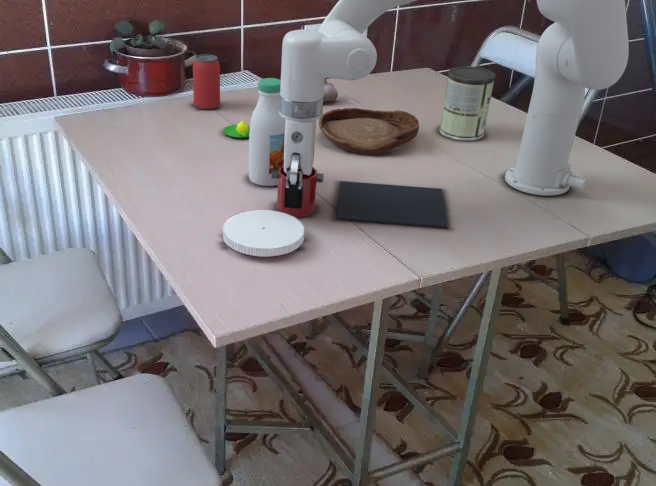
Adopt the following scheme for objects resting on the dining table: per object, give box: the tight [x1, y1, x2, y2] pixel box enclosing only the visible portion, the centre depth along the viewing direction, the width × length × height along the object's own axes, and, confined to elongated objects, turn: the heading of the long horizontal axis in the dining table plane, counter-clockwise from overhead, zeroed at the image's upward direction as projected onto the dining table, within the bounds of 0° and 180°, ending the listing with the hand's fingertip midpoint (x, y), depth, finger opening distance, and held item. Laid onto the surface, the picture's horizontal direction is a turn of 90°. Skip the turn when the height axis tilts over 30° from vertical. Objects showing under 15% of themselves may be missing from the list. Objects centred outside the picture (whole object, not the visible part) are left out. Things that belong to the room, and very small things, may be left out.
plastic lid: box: [222, 209, 305, 258], centre depth 129 cm, size 14×14×2 cm
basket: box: [318, 107, 420, 156], centre depth 169 cm, size 22×20×5 cm
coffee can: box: [438, 65, 497, 142], centre depth 171 cm, size 10×10×14 cm
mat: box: [336, 180, 448, 229], centre depth 142 cm, size 20×16×1 cm
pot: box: [271, 166, 325, 218], centre depth 138 cm, size 9×7×8 cm
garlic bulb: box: [323, 78, 339, 104], centre depth 189 cm, size 8×7×8 cm
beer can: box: [192, 53, 221, 111], centre depth 183 cm, size 7×7×12 cm
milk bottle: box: [248, 77, 285, 187], centre depth 145 cm, size 8×8×20 cm
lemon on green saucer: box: [222, 120, 250, 139], centre depth 171 cm, size 8×8×3 cm
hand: (295, 195), depth 139 cm, fingers open, 9 cm apart
